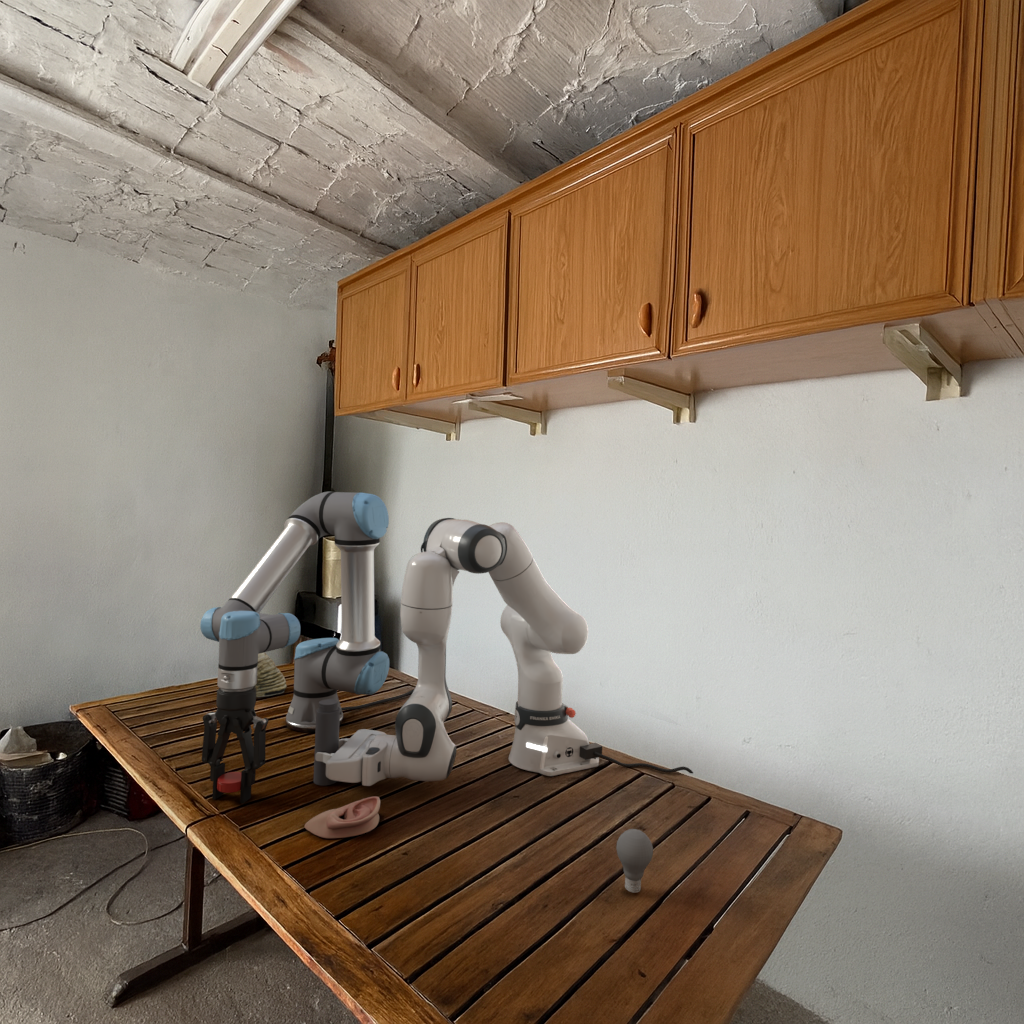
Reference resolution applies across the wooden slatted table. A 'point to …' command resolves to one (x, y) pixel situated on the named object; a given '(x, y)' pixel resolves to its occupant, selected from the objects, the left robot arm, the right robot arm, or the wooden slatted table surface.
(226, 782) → the lid
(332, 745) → the jar
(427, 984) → the wooden slatted table surface
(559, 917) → the wooden slatted table surface
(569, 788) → the wooden slatted table surface
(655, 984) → the wooden slatted table surface
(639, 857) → the light bulb
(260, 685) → the fossil
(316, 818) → the anatomical model
